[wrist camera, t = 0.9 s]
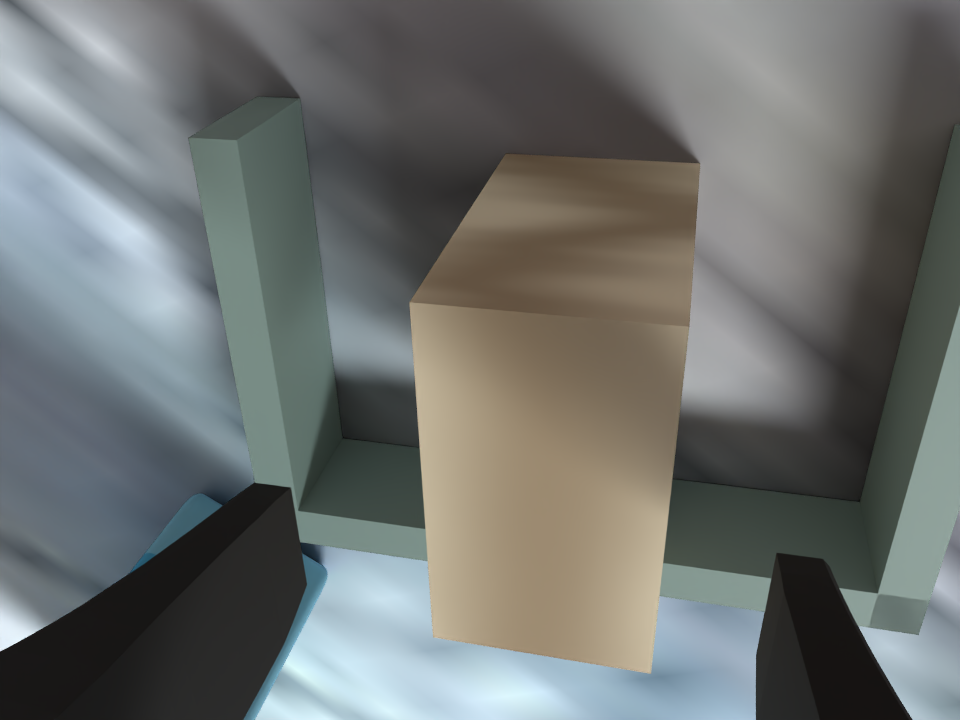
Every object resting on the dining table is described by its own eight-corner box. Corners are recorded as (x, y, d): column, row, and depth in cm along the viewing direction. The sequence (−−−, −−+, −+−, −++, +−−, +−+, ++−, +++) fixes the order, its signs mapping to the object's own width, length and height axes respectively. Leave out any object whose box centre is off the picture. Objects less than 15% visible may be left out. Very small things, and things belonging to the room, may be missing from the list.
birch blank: (700, 162, 18) (689, 327, 12) (670, 443, 22) (651, 673, 16) (506, 152, 19) (409, 302, 13) (508, 424, 23) (433, 637, 17)
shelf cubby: (1014, 126, 16) (1065, 182, 14) (896, 539, 21) (918, 635, 19) (257, 96, 19) (188, 137, 17) (312, 463, 25) (265, 536, 22)
